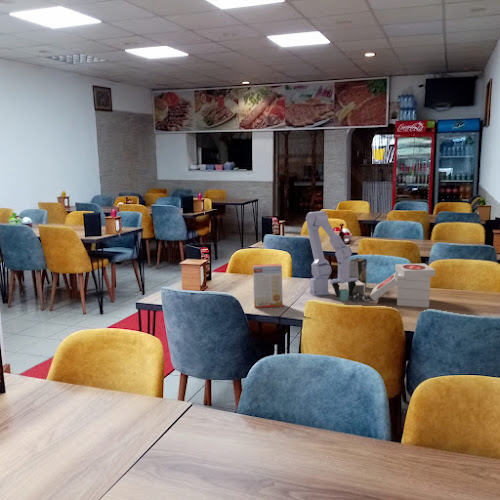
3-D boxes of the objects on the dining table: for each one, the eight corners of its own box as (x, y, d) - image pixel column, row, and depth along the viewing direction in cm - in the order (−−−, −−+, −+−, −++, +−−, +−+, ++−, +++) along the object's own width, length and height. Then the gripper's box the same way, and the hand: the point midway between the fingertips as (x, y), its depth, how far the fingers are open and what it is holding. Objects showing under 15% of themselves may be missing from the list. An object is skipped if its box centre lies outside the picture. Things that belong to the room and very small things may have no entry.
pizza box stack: (373, 294, 274) (374, 261, 271) (433, 298, 264) (435, 263, 261) (369, 304, 256) (369, 268, 253) (433, 309, 246) (435, 272, 243)
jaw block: (340, 300, 264) (340, 291, 263) (337, 298, 268) (337, 289, 267) (348, 300, 265) (348, 290, 264) (345, 298, 269) (345, 288, 268)
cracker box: (281, 303, 261) (281, 263, 258) (282, 307, 255) (282, 265, 252) (253, 304, 261) (252, 263, 257) (254, 308, 255) (253, 266, 251)
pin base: (354, 302, 261) (354, 297, 260) (341, 293, 277) (341, 289, 277) (373, 300, 263) (373, 296, 262) (359, 292, 279) (359, 287, 279)
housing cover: (348, 296, 269) (349, 285, 268) (342, 292, 277) (342, 281, 276) (364, 295, 271) (365, 284, 270) (358, 291, 279) (358, 280, 278)
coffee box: (359, 290, 282) (359, 261, 279) (348, 289, 286) (349, 260, 283) (366, 287, 290) (367, 258, 287) (356, 285, 293) (356, 257, 290)
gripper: (332, 273, 258) (333, 299, 260) (360, 271, 261) (360, 297, 263) (327, 270, 265) (328, 296, 267) (354, 268, 268) (354, 293, 270)
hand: (343, 296), depth 266 cm, fingers open, 6 cm apart
